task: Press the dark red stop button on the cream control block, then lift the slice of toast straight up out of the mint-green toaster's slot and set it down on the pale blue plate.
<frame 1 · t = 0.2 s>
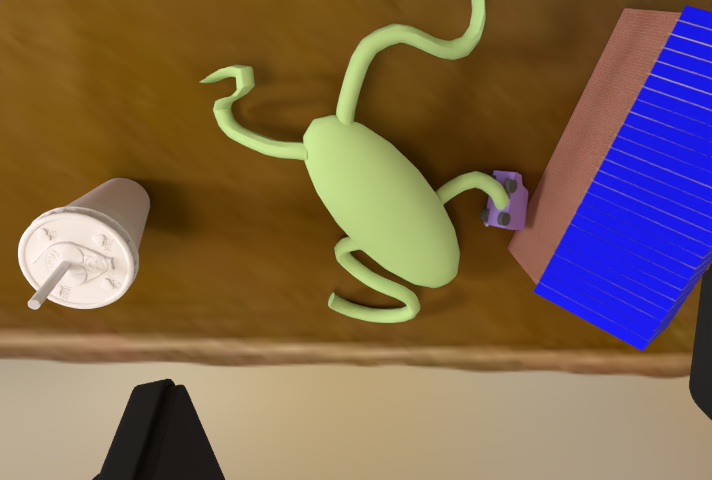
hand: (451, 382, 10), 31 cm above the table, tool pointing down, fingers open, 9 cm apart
figurine: (375, 147, 40), on the table
house: (620, 158, 42), on the table
smoothie: (125, 200, 40), on the table
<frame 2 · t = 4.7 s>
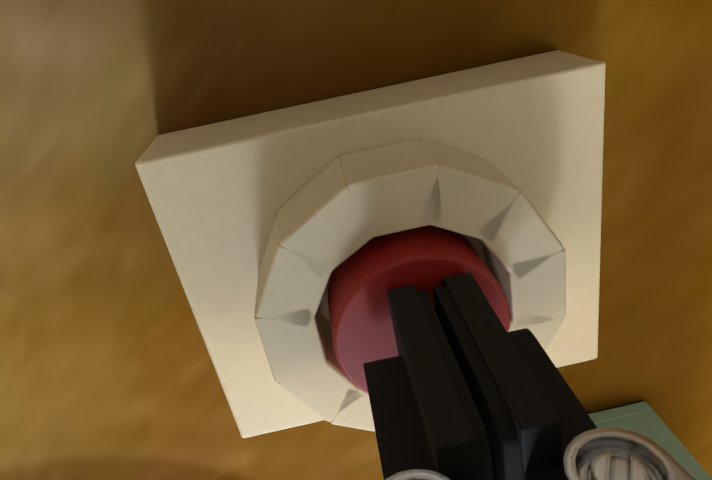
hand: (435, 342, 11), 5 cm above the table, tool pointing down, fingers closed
control block: (385, 236, 15), on the table
stop button: (414, 311, 11), point 4 cm above the table, slide at -0.6 cm, touching gripper
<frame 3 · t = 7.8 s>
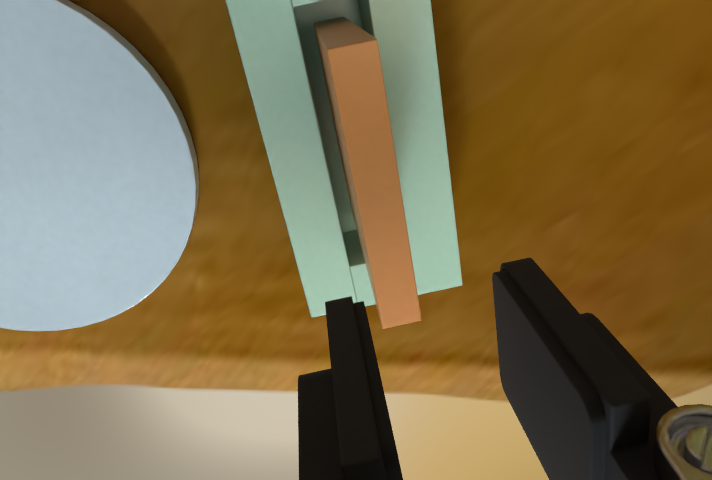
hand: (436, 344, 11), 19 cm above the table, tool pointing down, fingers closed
plate: (17, 170, 27), on the table
toast: (348, 123, 27), resting on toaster
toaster: (348, 120, 28), on the table
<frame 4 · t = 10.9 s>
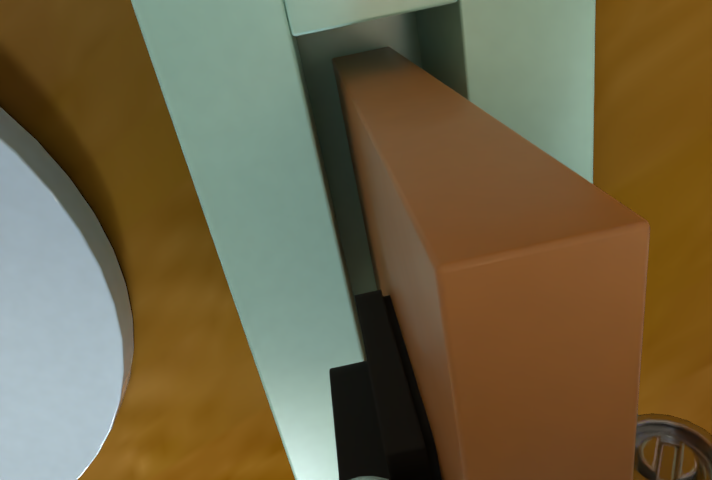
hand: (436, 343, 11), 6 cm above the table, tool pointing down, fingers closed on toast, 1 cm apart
toast: (391, 228, 16), resting on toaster, touching gripper
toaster: (388, 221, 16), on the table
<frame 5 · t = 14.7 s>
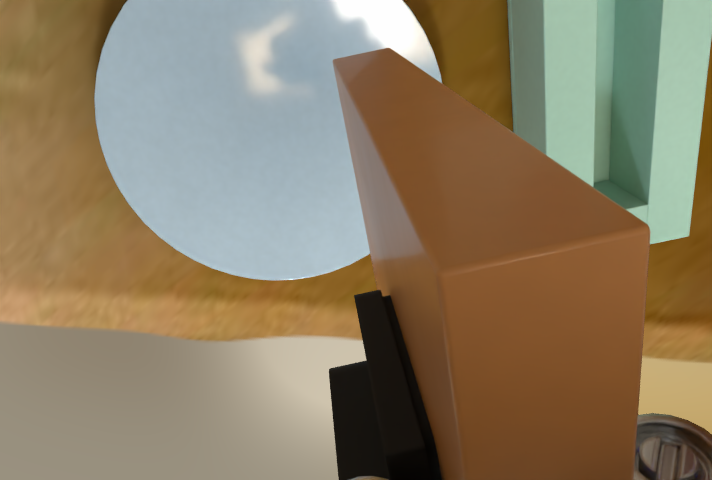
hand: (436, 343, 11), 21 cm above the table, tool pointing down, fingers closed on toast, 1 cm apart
plate: (277, 125, 29), on the table
toast: (391, 229, 16), point 15 cm above the table, touching gripper
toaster: (581, 81, 30), on the table
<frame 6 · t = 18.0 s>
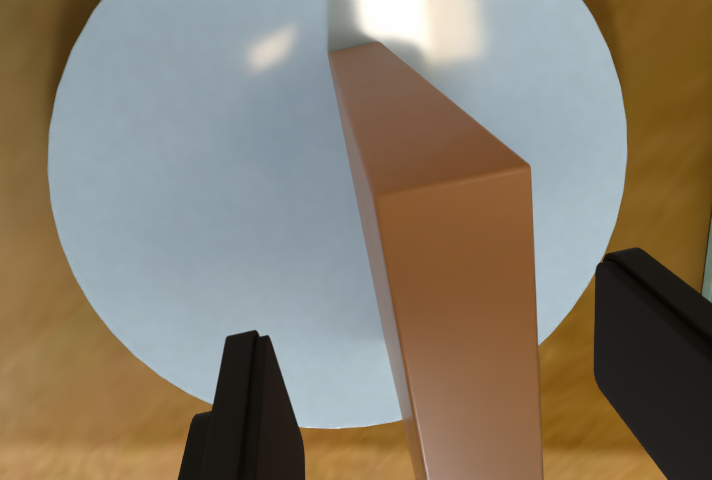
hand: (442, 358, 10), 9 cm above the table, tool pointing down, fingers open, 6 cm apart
plate: (348, 202, 18), on the table
toast: (382, 210, 17), point 1 cm above the table, touching plate
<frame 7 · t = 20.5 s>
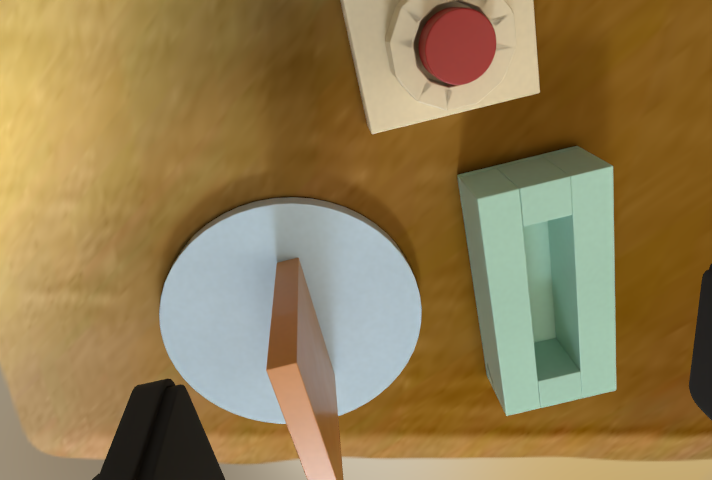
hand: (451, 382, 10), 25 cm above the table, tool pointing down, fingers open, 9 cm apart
plate: (293, 315, 38), on the table
toast: (307, 321, 37), point 1 cm above the table, touching plate
control block: (436, 38, 31), on the table
stop button: (456, 45, 27), point 4 cm above the table, slide at 0.1 cm
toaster: (527, 271, 38), on the table
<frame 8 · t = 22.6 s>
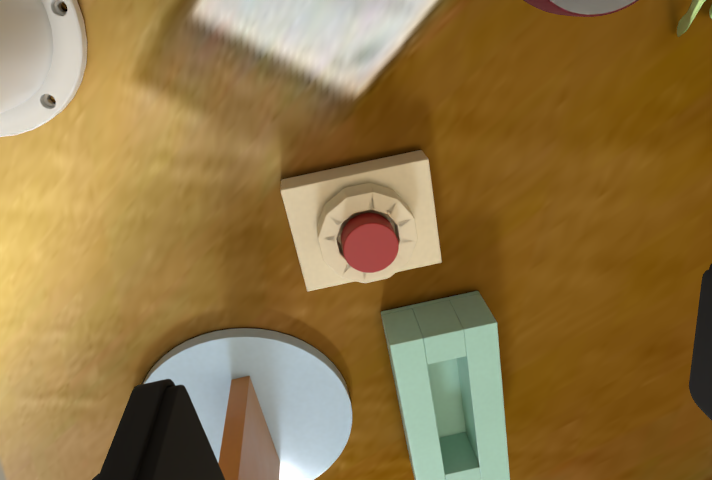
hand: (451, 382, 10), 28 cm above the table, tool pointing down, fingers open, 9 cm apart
plate: (246, 414, 46), on the table
toast: (257, 422, 45), point 1 cm above the table, touching plate
control block: (361, 215, 39), on the table
stop button: (369, 242, 35), point 4 cm above the table, slide at 0.1 cm
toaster: (441, 381, 47), on the table
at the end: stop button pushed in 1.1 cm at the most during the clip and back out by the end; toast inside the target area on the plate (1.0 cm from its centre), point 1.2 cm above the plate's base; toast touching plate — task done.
